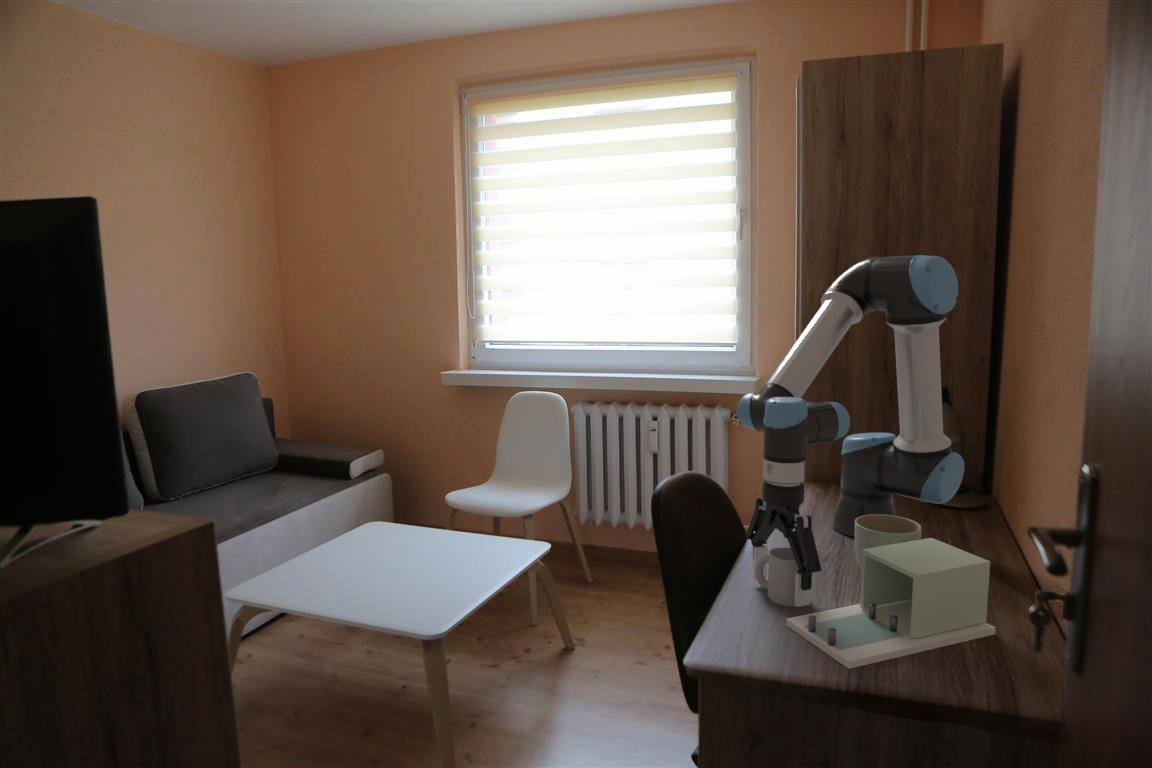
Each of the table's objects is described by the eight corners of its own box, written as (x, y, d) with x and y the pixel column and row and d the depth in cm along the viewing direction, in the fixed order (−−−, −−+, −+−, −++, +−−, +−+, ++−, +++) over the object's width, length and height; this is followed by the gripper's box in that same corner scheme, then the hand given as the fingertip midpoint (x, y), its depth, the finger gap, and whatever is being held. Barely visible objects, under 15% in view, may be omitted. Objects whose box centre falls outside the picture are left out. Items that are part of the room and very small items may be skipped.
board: (921, 597, 143) (921, 590, 143) (995, 634, 128) (995, 627, 128) (785, 625, 132) (785, 618, 132) (848, 668, 117) (849, 661, 117)
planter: (842, 565, 159) (844, 515, 158) (899, 562, 160) (902, 513, 159) (869, 589, 147) (871, 535, 145) (930, 586, 148) (934, 532, 146)
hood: (928, 593, 141) (931, 537, 139) (986, 621, 129) (990, 561, 128) (859, 607, 135) (862, 549, 134) (913, 638, 124) (917, 575, 122)
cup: (801, 610, 138) (802, 563, 137) (748, 598, 143) (749, 553, 142) (812, 596, 144) (813, 551, 143) (760, 585, 149) (761, 542, 148)
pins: (872, 616, 132) (872, 602, 132) (898, 631, 127) (899, 617, 126) (806, 630, 128) (807, 616, 127) (831, 646, 122) (831, 632, 122)
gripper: (729, 467, 150) (727, 570, 153) (809, 501, 128) (804, 621, 131) (762, 464, 153) (759, 565, 156) (845, 496, 130) (840, 614, 133)
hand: (780, 591), depth 143 cm, fingers open, 12 cm apart
